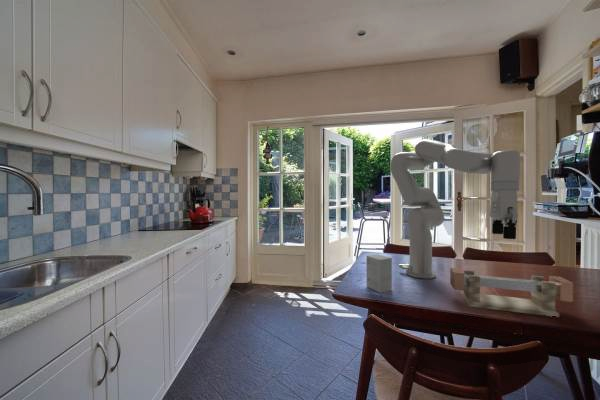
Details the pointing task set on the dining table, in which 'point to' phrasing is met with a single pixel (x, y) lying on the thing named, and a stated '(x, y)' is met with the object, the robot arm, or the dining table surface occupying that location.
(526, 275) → the dining table surface
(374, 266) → the small box
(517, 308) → the hanger stand
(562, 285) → the steel bar
